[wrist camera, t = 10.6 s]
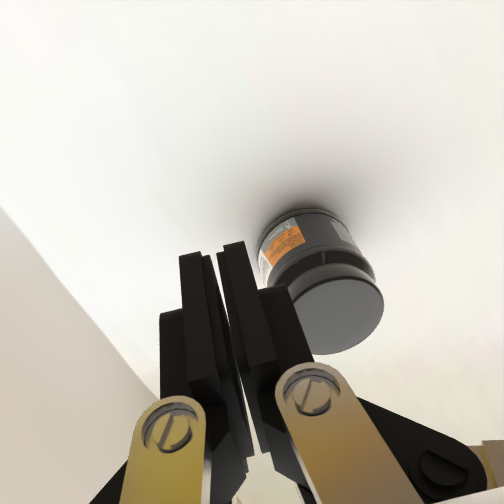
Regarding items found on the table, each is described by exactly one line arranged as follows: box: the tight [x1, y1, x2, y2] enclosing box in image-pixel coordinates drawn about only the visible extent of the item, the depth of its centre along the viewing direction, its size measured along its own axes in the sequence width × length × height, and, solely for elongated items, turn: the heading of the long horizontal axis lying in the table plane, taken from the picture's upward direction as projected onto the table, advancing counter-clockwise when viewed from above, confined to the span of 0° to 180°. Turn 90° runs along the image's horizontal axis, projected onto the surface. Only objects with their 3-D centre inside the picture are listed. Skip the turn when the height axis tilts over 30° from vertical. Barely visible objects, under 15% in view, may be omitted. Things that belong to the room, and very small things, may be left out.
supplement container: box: [257, 209, 384, 355], centre depth 47 cm, size 10×10×12 cm
